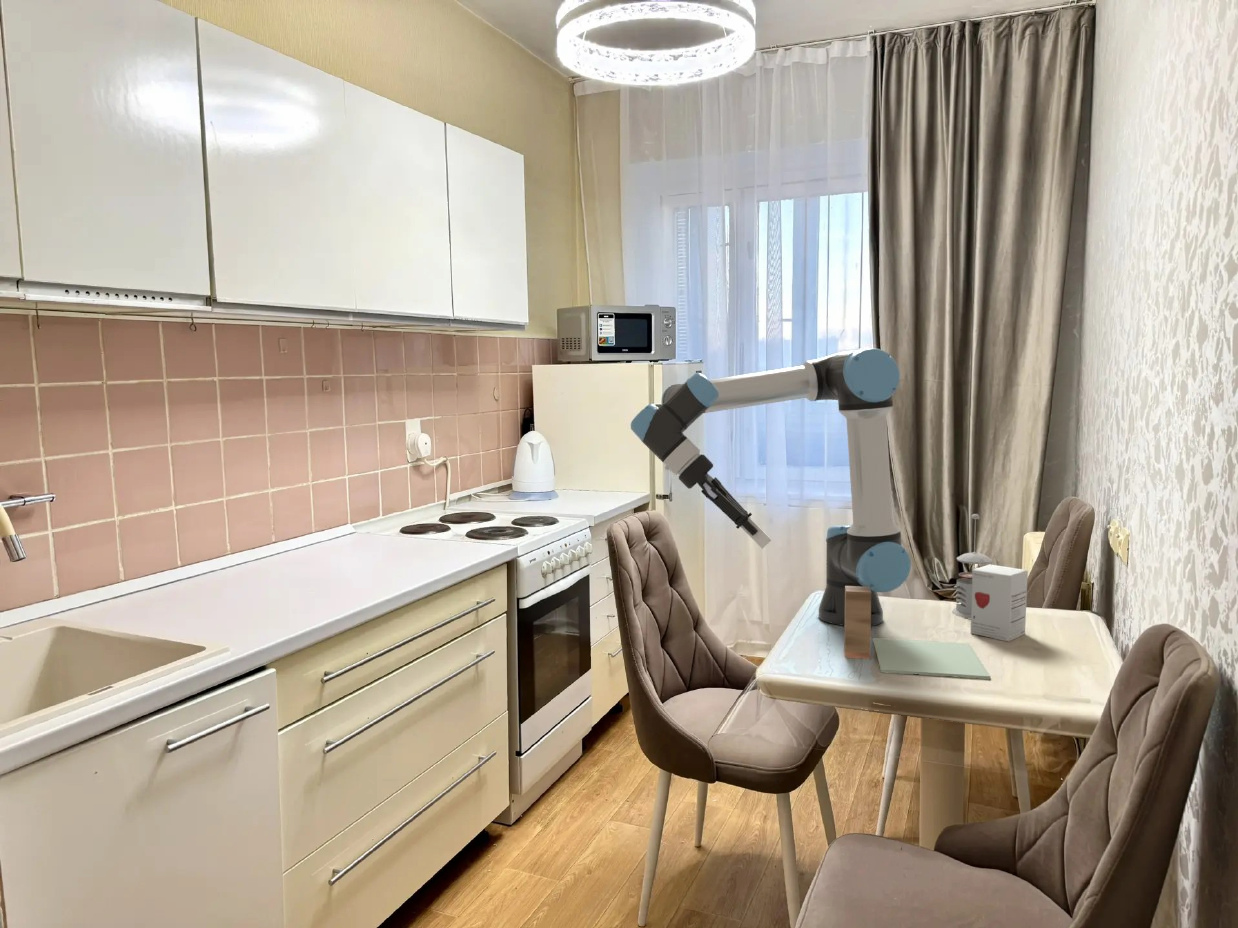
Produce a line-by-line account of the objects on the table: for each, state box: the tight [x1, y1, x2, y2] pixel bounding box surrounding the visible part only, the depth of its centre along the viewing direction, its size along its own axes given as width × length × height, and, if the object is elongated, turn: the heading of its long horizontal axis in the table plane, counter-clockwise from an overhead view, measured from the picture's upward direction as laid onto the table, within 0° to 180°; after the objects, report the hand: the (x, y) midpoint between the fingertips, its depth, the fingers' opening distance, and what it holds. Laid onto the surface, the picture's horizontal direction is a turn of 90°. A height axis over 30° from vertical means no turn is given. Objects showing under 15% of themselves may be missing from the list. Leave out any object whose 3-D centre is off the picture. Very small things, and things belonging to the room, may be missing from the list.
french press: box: [951, 513, 993, 619], centre depth 206 cm, size 10×12×25 cm
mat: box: [872, 637, 992, 680], centre depth 173 cm, size 22×20×1 cm
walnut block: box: [843, 586, 872, 660], centre depth 175 cm, size 5×5×14 cm
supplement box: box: [970, 563, 1029, 642], centre depth 190 cm, size 9×9×15 cm
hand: (766, 543), depth 178 cm, fingers closed
